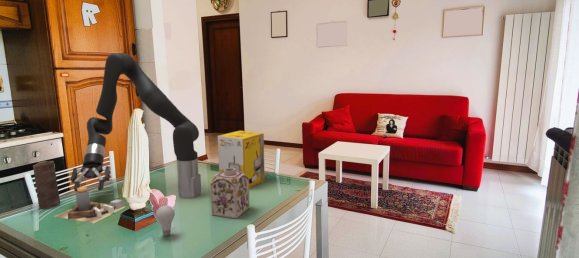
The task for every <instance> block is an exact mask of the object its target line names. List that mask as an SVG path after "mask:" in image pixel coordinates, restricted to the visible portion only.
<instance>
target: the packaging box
mask: <svg viewBox="0 0 579 258" xmlns="http://www.w3.org/2000/svg"><path fill="white" fill-rule="evenodd" d="M264 138H265V134H264V132H263V133H262V132H261V133H260V132H253V131H247V130H237V131H232V132H227V133H224V134H220V135H217V148H218V149H217V151H218V153H217V155H218V173H219V172H222V171H224V169H226V168H235V169H236V171H241V172H243V173H244V174H246V176H247V177H248V178H249V189H250V188H252V187H254V186H257V185H258V184H260V183H263V182H265V181H266V180H265V139H264Z"/></svg>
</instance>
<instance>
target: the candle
mask: <svg viewBox="0 0 579 258" xmlns="http://www.w3.org/2000/svg"><path fill="white" fill-rule="evenodd" d="M32 168H33V174H34V181H35V182H34V183H35V188H36V189H35V190H36V193H37V194H36V195H37V200H38V201H37V202H38V206H39V207H38V208H39V209H42V210H46V209H52V208H56V207H58V206H60V205H61V200H60V193H59V187H58V181H57V180H58V179H57V175H56V167H55V161H54V160H45V161H39V162H37V163H36V164H34V165H32Z"/></svg>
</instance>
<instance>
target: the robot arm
mask: <svg viewBox="0 0 579 258" xmlns="http://www.w3.org/2000/svg"><path fill="white" fill-rule="evenodd" d="M121 75H125V77H127V78H128V79H129V80H130V81H131V82H132V83H133V85H134V86H135V89H136V90H137V95H138V96H139V98H140V100H141V101H142V103H143V104H144V105H145V106H146V107H147V108H148V109H149V110H150V111H151V112H152V113H154V114H155V115H156V116H159V117H160V118H162V119H164V120H166V122H169V124H170V125H171V126H172V127H173V128H174V130H173V132H172V142H173V143H172V144H173V152H174V155H175V157H176V158H175V159H176V169H177V171H176V172H177V173H176V174H177V186H178V197H179V198H181V199H192V198H193V199H195V198H196V197H198V196H200V195H201V194H202V177H201V176H202V175H201V173H199V157H198V154H199V153H198V152H197V151H196V150H195V146H194V142H195V141H197V140H198V139H199V136H200V131H199V129H198V127H197V125H196V124H194V123H193V121H191V119H189V118H188V117H187V116H185V115H184V114H183V112H181V111H180V110H179V109H178V108H177V106H176V105H175V104H174V103H173V102H172V101H171V100H170V99H169V98H168V96H167V95H166V94H165V93H164V92H163V91H162V90H161V89H160V88H159V87H158V86H157V85H156V84H155V83H154V82H153V80H152V79H151V78H149V76H148V75H147V74H146V73H145V72H144V70H143V69H142V68H141V67H140V64H138V63H137V61H136V60H135V58H133V57H132V55H130V54H127V53H118V52H117V53H110V54H109V55H107V57H106V60H105V64H104V73H103V80H102V87H101V92H100V95H99V96H100V97H99V99H98V102H97V106H96V110H95V113H96V114H97V115H99V116H101V117H103V118H100V117H95V116H92V117H90V118H89V119H88V120H87V122H86V131H87V135H88V136H87V137H88V140H87V146H86V148H85V153H84V157H83V161H82V167H81V168H76V167H74V168H72V169H73V170H72V172H71V176H70V182H71V183H72V184H74V185H73V186H74V187H73V190H74V191H75V193H76V192H77V188H79V187H81V184H82V182H83V181H85V180H86V179H96V178H98V180H99V181H98V186H97V190H98V191H102V190H103V189H104V184H105V182H108V181H110V177H111V176H110V175H111V168H110V167H109V166H108V165H107V166H106V167H103V165H104V159H105V156H106V155H105V154H106V153H105V151H106V150H105V149H106V144H107V139H106V137H105V136H108V135H110V134H111V133H112V131H113V115H114V112H115V108H116V105H117V102H118V91H117V84H118V81H119V79H120V77H121ZM104 135H105V136H104ZM103 172H104V173H105V174H104V177H103V176H102V175H101V174H102V173H103Z"/></svg>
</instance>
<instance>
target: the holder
mask: <svg viewBox="0 0 579 258" xmlns="http://www.w3.org/2000/svg"><path fill="white" fill-rule="evenodd" d="M100 203H101V202H98V203H90V206H91V210H89V211H78V207H77V204H75V205H74V206H73V207H72V208H73V209H72V208H71V209H72V210H71V211H70V212H69V213H68V219H67V220H71V219H73V218H84V217H86V215H93V214H95V211H94V209H93V208H95V207H97V208H98V209H100V208H101V206H100Z"/></svg>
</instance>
